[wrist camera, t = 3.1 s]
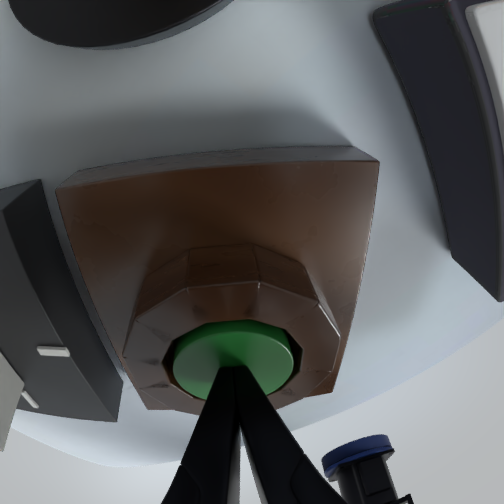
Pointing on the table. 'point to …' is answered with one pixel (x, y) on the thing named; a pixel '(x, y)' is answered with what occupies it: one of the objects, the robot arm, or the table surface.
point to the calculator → (458, 117)
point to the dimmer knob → (8, 397)
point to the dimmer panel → (48, 318)
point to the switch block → (224, 255)
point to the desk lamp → (111, 20)
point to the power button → (232, 354)
